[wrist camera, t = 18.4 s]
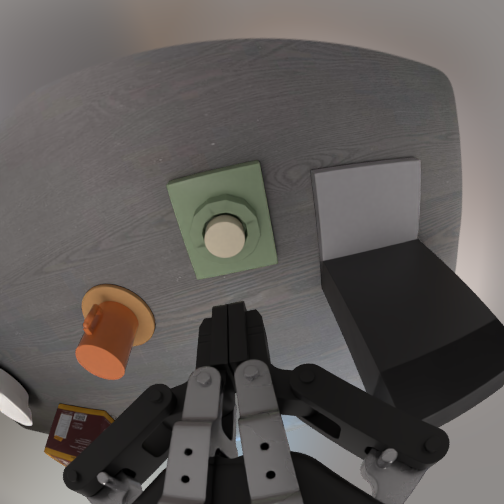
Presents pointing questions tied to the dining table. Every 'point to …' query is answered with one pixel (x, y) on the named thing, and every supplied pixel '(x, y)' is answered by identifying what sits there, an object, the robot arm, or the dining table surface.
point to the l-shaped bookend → (401, 295)
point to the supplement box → (74, 431)
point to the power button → (224, 236)
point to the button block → (224, 203)
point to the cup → (107, 339)
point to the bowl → (14, 399)
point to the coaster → (126, 298)
